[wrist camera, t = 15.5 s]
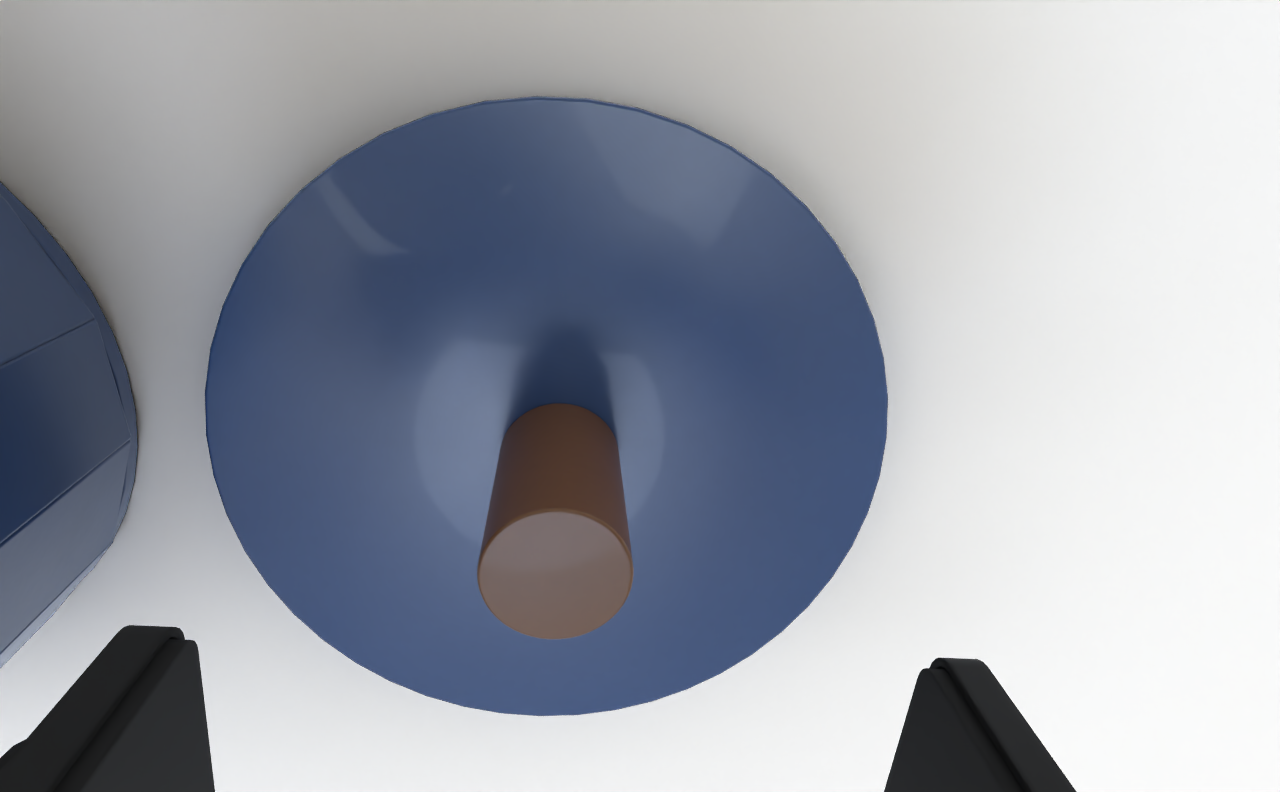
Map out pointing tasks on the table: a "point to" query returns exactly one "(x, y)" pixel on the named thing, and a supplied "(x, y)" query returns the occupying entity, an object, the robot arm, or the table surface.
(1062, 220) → the table surface
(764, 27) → the table surface
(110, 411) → the tin
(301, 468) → the tin lid
